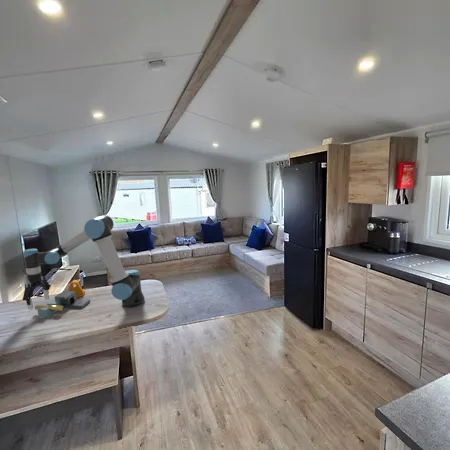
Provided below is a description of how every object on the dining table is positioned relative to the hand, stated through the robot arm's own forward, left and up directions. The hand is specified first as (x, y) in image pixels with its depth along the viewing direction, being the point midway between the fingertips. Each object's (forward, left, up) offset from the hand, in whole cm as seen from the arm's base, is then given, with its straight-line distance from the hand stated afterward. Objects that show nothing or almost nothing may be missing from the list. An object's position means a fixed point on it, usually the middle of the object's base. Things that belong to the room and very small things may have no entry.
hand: (39, 304), depth 175 cm
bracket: (-7, -27, -7) cm, 29 cm away
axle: (-6, 0, -4) cm, 8 cm away
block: (-14, -12, -6) cm, 20 cm away
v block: (-6, 0, -6) cm, 9 cm away
